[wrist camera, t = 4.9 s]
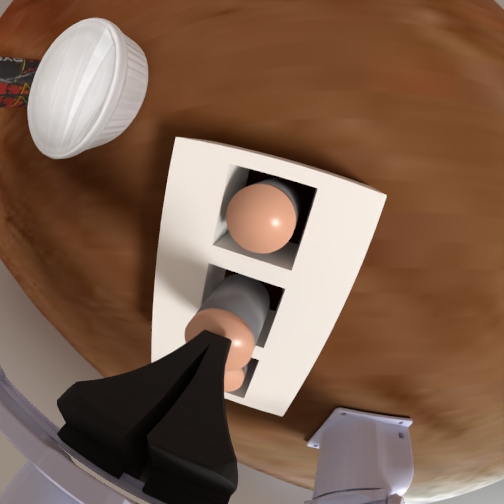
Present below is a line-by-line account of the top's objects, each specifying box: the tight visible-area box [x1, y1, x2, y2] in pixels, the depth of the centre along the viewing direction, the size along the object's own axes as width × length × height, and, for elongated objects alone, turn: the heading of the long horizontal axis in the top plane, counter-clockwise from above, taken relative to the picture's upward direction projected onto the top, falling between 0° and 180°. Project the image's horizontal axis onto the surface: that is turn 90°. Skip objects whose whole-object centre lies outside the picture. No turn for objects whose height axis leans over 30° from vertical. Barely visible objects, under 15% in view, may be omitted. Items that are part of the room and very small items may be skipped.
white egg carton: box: [151, 137, 387, 417], centre depth 17 cm, size 11×17×5 cm, turn 166°
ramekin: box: [28, 18, 148, 159], centre depth 15 cm, size 11×11×5 cm
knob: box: [226, 178, 301, 253], centre depth 15 cm, size 3×3×5 cm
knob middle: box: [184, 274, 270, 371], centre depth 15 cm, size 3×3×5 cm
